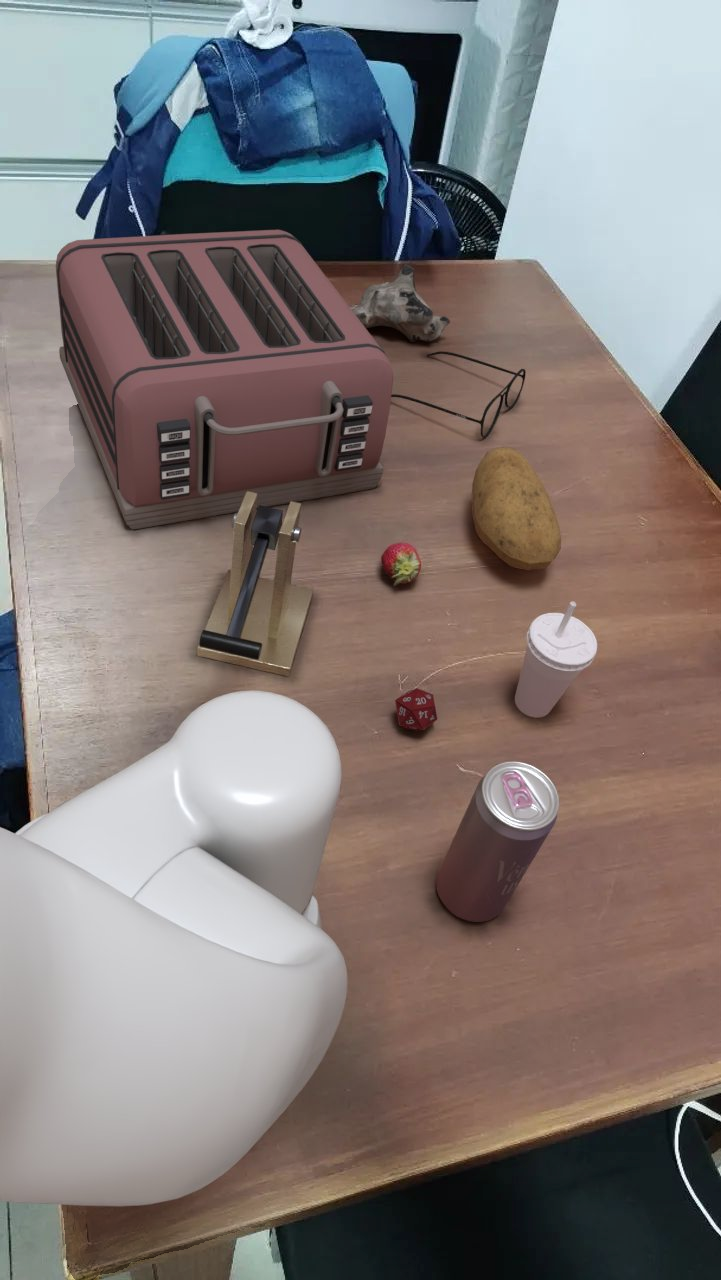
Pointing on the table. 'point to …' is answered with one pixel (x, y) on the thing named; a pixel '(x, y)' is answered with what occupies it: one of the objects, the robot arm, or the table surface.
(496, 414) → the glasses
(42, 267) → the table surface
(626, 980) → the table surface
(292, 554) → the bracket
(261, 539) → the lever
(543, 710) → the smoothie
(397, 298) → the decorative stone
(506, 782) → the beverage can
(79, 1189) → the robot arm
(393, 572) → the fruit
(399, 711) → the dice
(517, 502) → the potato
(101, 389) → the toaster
